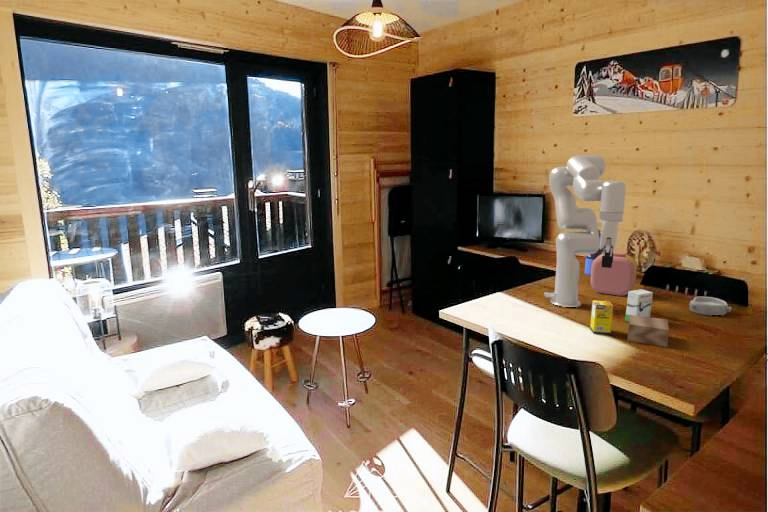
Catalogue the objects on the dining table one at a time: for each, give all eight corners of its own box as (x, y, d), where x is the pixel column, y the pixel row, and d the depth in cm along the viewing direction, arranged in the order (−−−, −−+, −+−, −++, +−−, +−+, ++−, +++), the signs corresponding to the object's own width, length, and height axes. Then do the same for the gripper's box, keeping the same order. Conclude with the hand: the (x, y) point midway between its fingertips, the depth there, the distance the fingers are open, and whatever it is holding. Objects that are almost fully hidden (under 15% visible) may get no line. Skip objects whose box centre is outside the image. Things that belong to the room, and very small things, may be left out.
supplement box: (611, 334, 174) (613, 305, 172) (593, 333, 175) (595, 304, 173) (606, 329, 180) (609, 300, 178) (589, 328, 181) (592, 300, 179)
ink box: (635, 324, 185) (639, 294, 183) (624, 320, 190) (627, 291, 187) (650, 321, 189) (653, 291, 187) (638, 317, 194) (641, 288, 191)
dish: (689, 314, 198) (691, 302, 197) (685, 305, 211) (687, 294, 210) (732, 319, 192) (734, 307, 191) (725, 309, 204) (727, 298, 203)
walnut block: (627, 340, 168) (628, 324, 167) (628, 330, 179) (629, 314, 177) (667, 346, 163) (669, 329, 162) (665, 335, 173) (667, 319, 172)
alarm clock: (634, 293, 230) (638, 252, 226) (632, 298, 221) (636, 256, 217) (592, 287, 240) (596, 249, 236) (588, 292, 230) (592, 252, 227)
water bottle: (586, 275, 264) (590, 230, 260) (582, 272, 274) (586, 228, 269) (604, 276, 263) (608, 230, 258) (599, 272, 272) (603, 228, 267)
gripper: (600, 214, 179) (597, 260, 182) (597, 218, 164) (593, 268, 167) (623, 215, 176) (619, 261, 179) (622, 219, 161) (618, 270, 164)
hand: (607, 265), depth 173 cm, fingers open, 9 cm apart
